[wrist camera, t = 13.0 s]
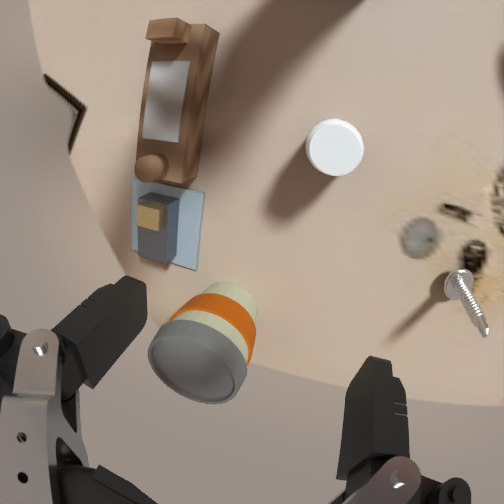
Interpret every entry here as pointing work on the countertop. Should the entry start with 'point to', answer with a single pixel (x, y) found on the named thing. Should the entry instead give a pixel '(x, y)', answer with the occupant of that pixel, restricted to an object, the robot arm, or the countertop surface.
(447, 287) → the screw
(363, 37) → the countertop surface
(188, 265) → the rubber mat
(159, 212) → the lever cap
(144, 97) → the plane body
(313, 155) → the pill bottle
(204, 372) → the reusable coffee cup
